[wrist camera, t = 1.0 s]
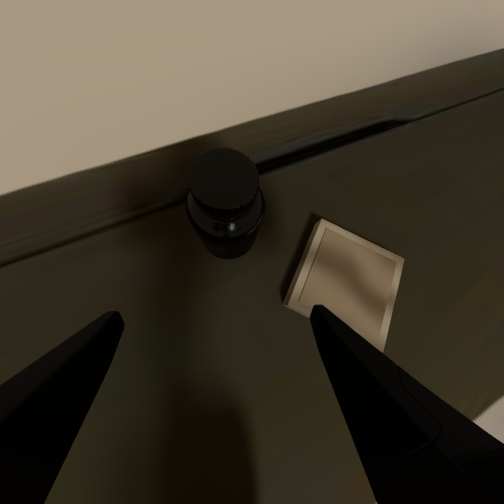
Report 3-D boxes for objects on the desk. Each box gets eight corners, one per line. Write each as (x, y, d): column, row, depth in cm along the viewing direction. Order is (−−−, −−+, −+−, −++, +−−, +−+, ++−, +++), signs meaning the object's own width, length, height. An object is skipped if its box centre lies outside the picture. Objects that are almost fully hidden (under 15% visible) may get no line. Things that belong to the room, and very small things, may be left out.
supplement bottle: (223, 201, 24) (217, 116, 13) (264, 230, 24) (295, 170, 12) (190, 239, 23) (147, 181, 11) (233, 271, 22) (236, 245, 11)
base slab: (369, 347, 22) (384, 352, 20) (282, 304, 22) (287, 305, 20) (391, 261, 25) (405, 258, 23) (314, 224, 25) (322, 217, 23)
